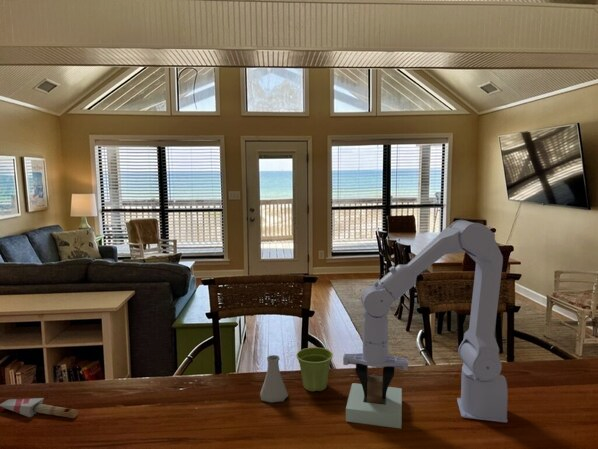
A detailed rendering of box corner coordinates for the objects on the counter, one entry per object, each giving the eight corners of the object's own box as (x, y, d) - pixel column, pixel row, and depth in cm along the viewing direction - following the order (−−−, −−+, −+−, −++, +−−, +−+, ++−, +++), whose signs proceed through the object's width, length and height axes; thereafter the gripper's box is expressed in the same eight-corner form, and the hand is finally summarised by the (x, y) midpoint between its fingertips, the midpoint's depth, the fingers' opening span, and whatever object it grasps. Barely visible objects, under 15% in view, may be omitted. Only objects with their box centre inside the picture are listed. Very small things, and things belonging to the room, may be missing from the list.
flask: (290, 389, 105) (289, 352, 104) (286, 404, 97) (285, 364, 97) (262, 388, 105) (261, 351, 104) (256, 403, 98) (255, 363, 97)
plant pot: (319, 399, 99) (319, 365, 99) (289, 388, 105) (289, 356, 104) (339, 384, 107) (339, 352, 106) (310, 374, 112) (310, 344, 112)
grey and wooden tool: (10, 392, 99) (81, 404, 95) (11, 403, 99) (81, 415, 95) (-5, 400, 95) (68, 413, 91) (-4, 411, 95) (68, 424, 91)
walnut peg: (382, 400, 96) (383, 376, 95) (382, 408, 92) (382, 382, 92) (368, 399, 96) (368, 374, 96) (367, 406, 93) (367, 381, 93)
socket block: (401, 400, 99) (401, 388, 98) (401, 428, 87) (401, 415, 87) (352, 394, 102) (352, 382, 101) (345, 421, 90) (345, 408, 90)
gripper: (407, 335, 95) (407, 391, 96) (346, 331, 98) (346, 384, 100) (408, 347, 88) (407, 406, 89) (341, 341, 92) (342, 399, 93)
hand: (375, 396), depth 94 cm, fingers closed on walnut peg, 3 cm apart
